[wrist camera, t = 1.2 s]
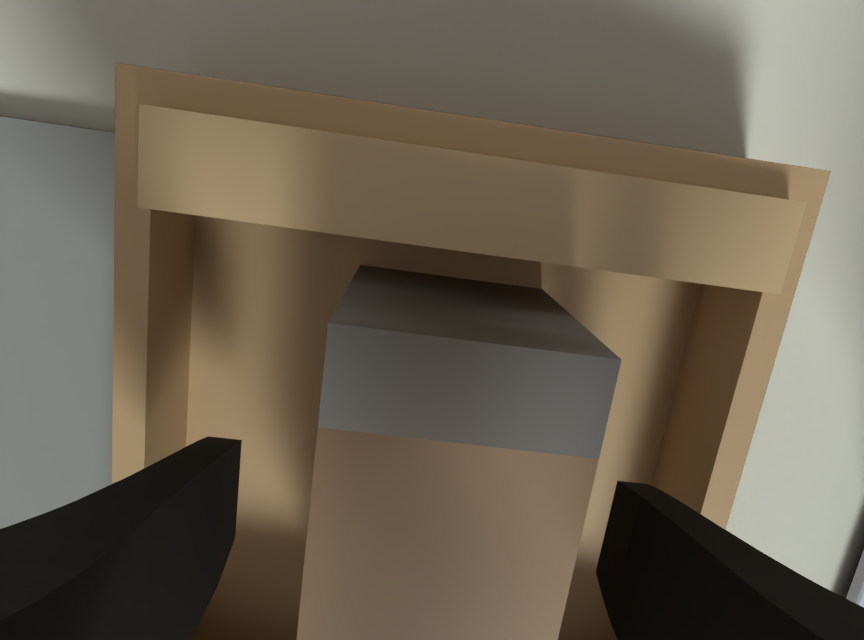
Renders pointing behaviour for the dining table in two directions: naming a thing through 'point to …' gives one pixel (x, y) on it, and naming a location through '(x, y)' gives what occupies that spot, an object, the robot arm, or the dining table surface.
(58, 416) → the mat
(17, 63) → the dining table surface
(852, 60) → the dining table surface
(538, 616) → the box
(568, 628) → the shallow wooden tray
